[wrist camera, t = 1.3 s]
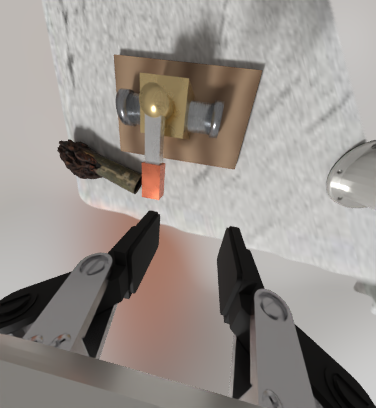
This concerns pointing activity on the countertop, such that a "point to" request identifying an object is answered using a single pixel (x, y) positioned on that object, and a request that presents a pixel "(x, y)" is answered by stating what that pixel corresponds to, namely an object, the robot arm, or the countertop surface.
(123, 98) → the pipe and valve
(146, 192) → the valve lever
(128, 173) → the olive brown elongated lump
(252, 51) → the countertop surface
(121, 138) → the mounting board
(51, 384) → the robot arm
